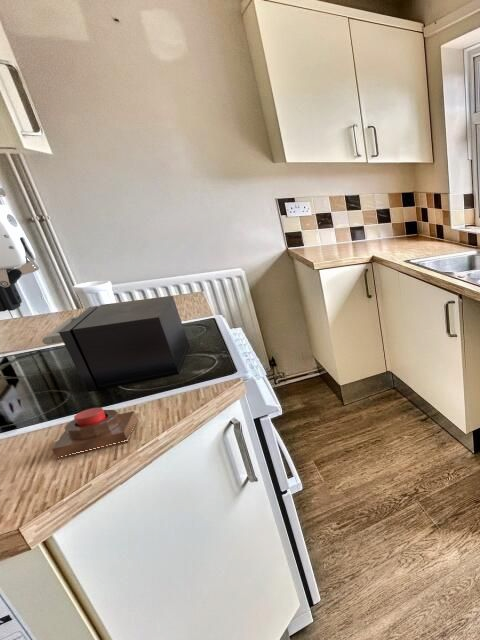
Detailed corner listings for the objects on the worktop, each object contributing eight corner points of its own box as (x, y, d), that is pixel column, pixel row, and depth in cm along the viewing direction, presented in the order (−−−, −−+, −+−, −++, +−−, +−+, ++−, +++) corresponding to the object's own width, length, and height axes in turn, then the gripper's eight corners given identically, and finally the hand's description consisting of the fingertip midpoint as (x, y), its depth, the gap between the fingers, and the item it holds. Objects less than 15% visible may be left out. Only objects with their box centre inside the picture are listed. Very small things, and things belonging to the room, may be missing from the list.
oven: (99, 390, 90) (72, 329, 85) (122, 357, 106) (100, 304, 101) (179, 374, 97) (158, 317, 91) (189, 346, 113) (172, 295, 107)
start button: (75, 430, 70) (70, 421, 69) (82, 419, 73) (77, 411, 72) (103, 423, 71) (99, 414, 71) (109, 413, 74) (105, 405, 74)
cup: (134, 324, 130) (117, 279, 124) (118, 334, 122) (98, 286, 117) (104, 327, 128) (85, 281, 123) (85, 336, 121) (64, 288, 115)
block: (57, 460, 68) (46, 439, 67) (74, 435, 75) (64, 416, 73) (128, 442, 72) (119, 423, 71) (138, 420, 79) (130, 402, 77)
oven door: (63, 397, 88) (32, 336, 82) (92, 362, 104) (68, 309, 98) (97, 390, 90) (69, 330, 85) (120, 357, 106) (98, 305, 101)
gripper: (34, 194, 72) (76, 297, 79) (-100, 196, 65) (-41, 309, 72) (13, 196, 66) (61, 308, 73) (-137, 199, 59) (-69, 322, 66)
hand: (10, 308), depth 72 cm, fingers closed
